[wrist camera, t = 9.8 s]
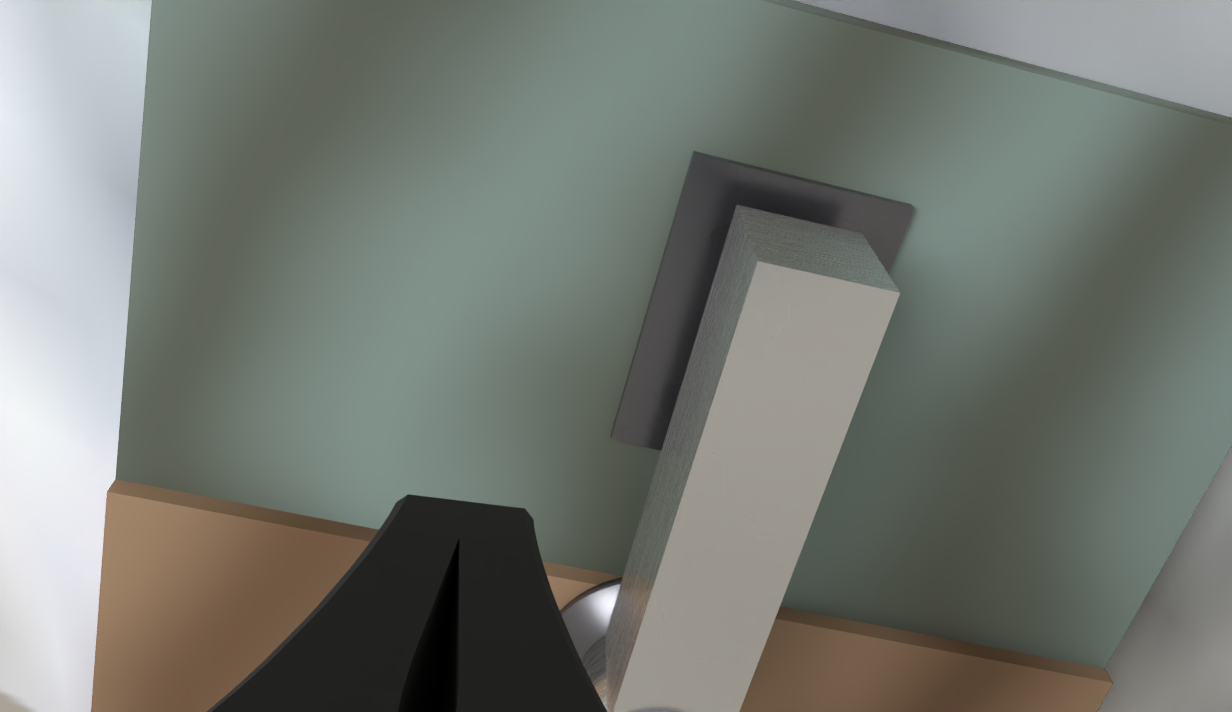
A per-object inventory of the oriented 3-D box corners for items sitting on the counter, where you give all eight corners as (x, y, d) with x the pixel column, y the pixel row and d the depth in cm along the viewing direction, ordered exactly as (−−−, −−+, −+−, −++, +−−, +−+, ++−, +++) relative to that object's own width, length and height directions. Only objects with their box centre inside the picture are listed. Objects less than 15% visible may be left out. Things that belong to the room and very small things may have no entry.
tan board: (1351, 150, 19) (1406, 174, 18) (888, 991, 28) (902, 1047, 27) (187, -162, 16) (154, -158, 15) (100, 876, 26) (75, 931, 24)
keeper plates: (922, 206, 18) (932, 219, 18) (714, 739, 23) (717, 761, 22) (680, 147, 18) (683, 158, 17) (520, 705, 22) (519, 727, 22)
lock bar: (695, 741, 22) (708, 849, 20) (562, 719, 21) (560, 826, 19) (880, 237, 17) (925, 303, 15) (717, 200, 17) (737, 261, 15)
